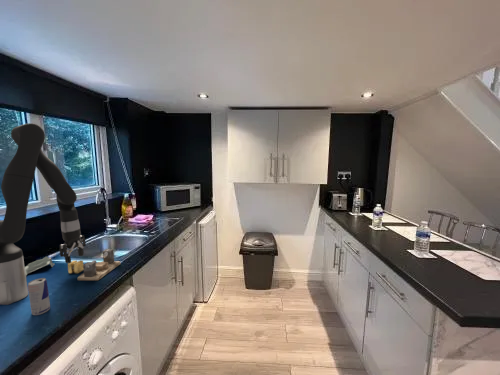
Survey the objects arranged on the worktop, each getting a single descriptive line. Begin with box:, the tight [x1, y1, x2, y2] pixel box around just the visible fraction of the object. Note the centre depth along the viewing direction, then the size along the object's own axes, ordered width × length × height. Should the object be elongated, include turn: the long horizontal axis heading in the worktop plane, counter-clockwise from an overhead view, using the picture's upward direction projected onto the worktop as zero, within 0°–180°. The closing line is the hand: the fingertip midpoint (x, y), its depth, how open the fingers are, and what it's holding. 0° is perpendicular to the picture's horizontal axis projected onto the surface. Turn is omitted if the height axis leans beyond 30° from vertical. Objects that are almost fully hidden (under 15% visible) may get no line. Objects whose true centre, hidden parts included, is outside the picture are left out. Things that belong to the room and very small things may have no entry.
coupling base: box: [77, 248, 121, 281], centre depth 122 cm, size 18×10×8 cm, turn 177°
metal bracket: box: [25, 256, 55, 276], centre depth 126 cm, size 14×6×15 cm
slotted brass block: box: [67, 260, 84, 274], centre depth 123 cm, size 5×4×5 cm
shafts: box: [85, 248, 112, 269], centre depth 121 cm, size 17×2×4 cm, turn 177°
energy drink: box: [27, 277, 51, 316], centre depth 90 cm, size 5×5×12 cm
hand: (75, 259), depth 123 cm, fingers open, 8 cm apart
